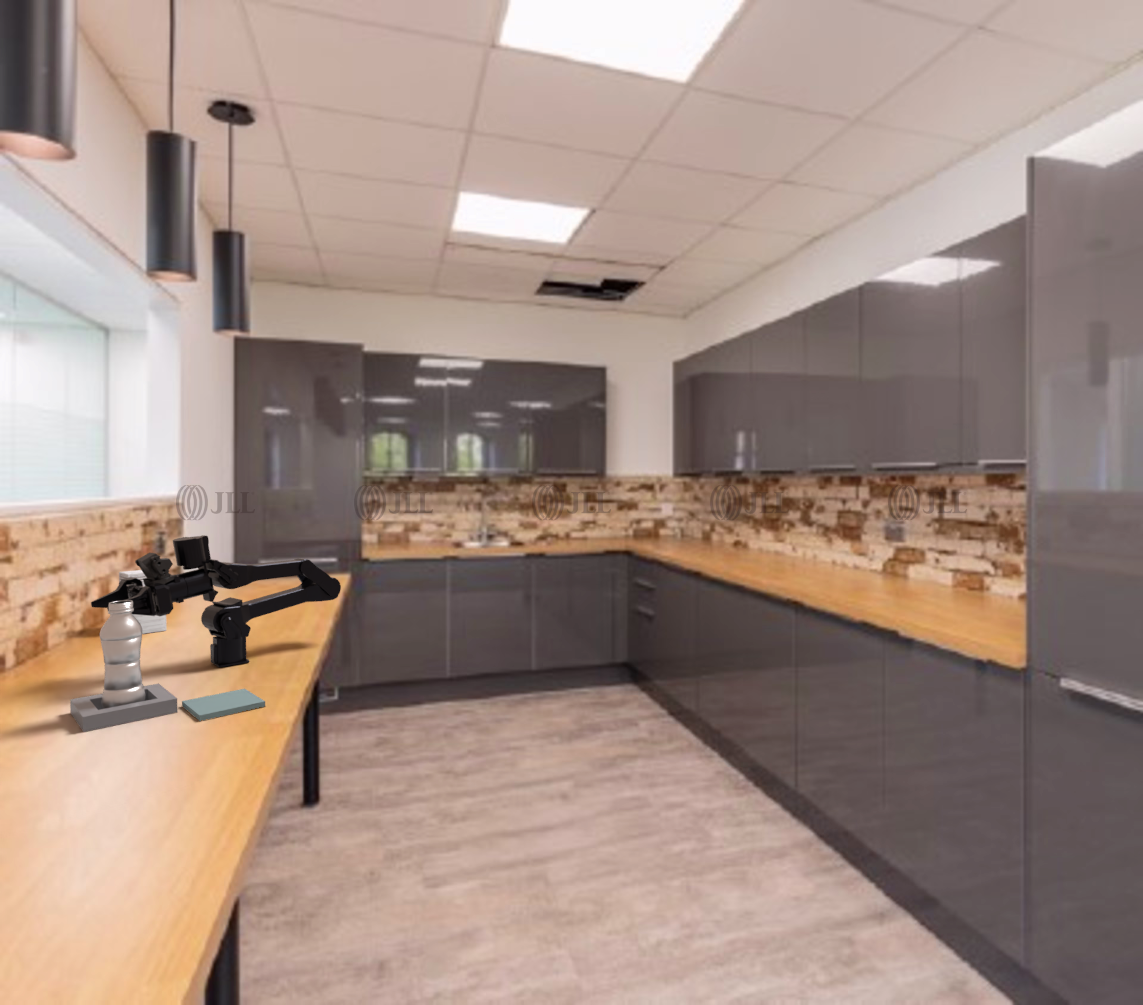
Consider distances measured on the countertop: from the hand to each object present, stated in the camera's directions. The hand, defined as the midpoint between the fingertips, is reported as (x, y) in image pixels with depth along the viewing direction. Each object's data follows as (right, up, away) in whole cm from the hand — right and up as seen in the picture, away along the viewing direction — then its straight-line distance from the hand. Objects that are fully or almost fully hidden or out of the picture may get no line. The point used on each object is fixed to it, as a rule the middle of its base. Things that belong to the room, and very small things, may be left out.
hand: (99, 607), depth 138 cm
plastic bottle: (+14, -17, -13) cm, 26 cm away
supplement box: (-25, -15, +55) cm, 63 cm away
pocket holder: (+14, -17, -14) cm, 26 cm away
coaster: (+30, -17, -10) cm, 36 cm away
